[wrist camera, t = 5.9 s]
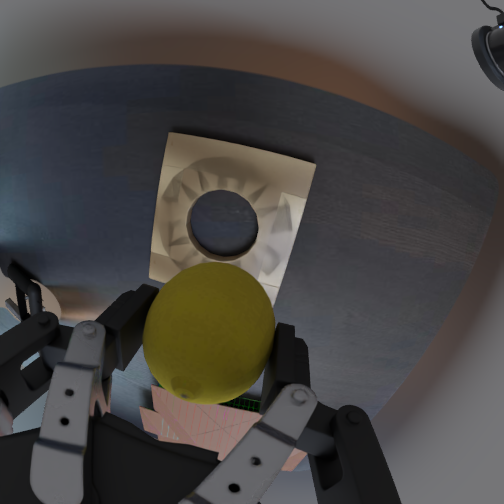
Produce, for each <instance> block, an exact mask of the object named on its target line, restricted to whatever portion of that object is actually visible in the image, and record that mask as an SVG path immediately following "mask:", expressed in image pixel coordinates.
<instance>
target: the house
mask: <svg viewBox="0 0 504 504" xmlns="http://www.w3.org/2000/svg"><path fill="white" fill-rule="evenodd" d="M160 386H161V385H160V384H158V386H155V385H153V384H151V388H152V397H153V405H154V410H151V409H148V408H146V407H145V408H144V407H142V406H139V407H140V412H141V417H142V421H143V426H144V430H146V431H149V432H152V433H154V434H157V435H158V439H159V441H165V442H173V443H182V444H190V445H194V446H197V447H201V448H204V449H208V450H212V451H216V452H219V455H218V460H220V461H222V460H223V459H224V458H225V457H226V456H227V455H228V454H229V452H230V451H231V450H232V449H233V448H234V447H235V446H236V444H237V443H238V442H239V441H240V440H241V438H242V437H243V436H244V435H245V434H246V433H247V431H248V430H249V429H250V428H251V426H252V425H253V424H254V423H255V422H258V421H259V420H260V418H261V417H262V416H263V415H259V413H257V412H252V411H247V410H242V409H237V408H234V406H233V407H229V406H224V405H220V404H205V405H203V404H196V403H191V402H188V401H184V400H182V399H180V398H178V397H176V396H174V395H173V394H171V393H170V392H168V391H167V390H166V389H164V387H162V386H161V387H160ZM238 398H241V397H238ZM235 399H236V398H235ZM243 399H246V398H243ZM247 400H251V399H247ZM252 401H254V403H255V401H256V400H252ZM258 402H261V401H258ZM226 403H228V402H226ZM229 403H230V401H229ZM234 403H235V402H234ZM239 403H240V402H239ZM244 403H245V402H244ZM249 403H250V401H249ZM231 404H233V403H231ZM234 405H237V404H234ZM240 406H243V405H240ZM244 407H246V406H244ZM244 407H243V409H244ZM238 408H239V407H238ZM250 408H253V409H257V408H254V407H250ZM248 409H249V407H248ZM258 409H259V406H258ZM306 454H307V453H306V452H304V451H301V450H299V449H296V448H294V449H293V451H292V453H291V454H290V456H289V458H288V459H287V461H286V462H285V464H284V466H283V467H282V469H281V470H284V471H292V470H293V469H294V468H295V467H296V466H297V465H298V464H299V462H300V461H301V460H302V459H303V458H304V457H305V456H306Z"/></svg>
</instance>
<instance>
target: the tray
mask: <svg viewBox="0 0 504 504" xmlns="http://www.w3.org/2000/svg"><path fill="white" fill-rule="evenodd" d="M315 168H316V164H314V163H310V162H307V161H303V160H300V159H296V158H293V157H289V156H285V155H281V154H277V153H273V152H269V151H265V150H261V149H257V148H253V147H248V146H244V145H239V144H235V143H230V142H225V141H220V140H215V139H209V138H204V137H198V136H192V135H186V134H179V133H173V132H169V135H168V140H167V145H166V150H165V155H164V160H163V165H162V171H161V177H160V183H159V189H158V196H157V203H156V210H155V218H154V226H153V235H152V245H151V257H150V270H149V278H151V279H154V280H157V281H160V282H163V283H167V282H168V281H169V280H171V279H172V278H173V277H174V276H176V275H177V274H178V273H179V272H181V271H182V270H184V269H186V268H189V267H192V266H194V265H197V264H199V263H207V262H222V263H229V264H232V265H234V266H237V267H240V268H242V269H243V270H245V271H246V272H248V273H249V274H251V275H252V276H253V277H254V278H255V279H256V280H257V281H258V282H259V283H260V284H261V285H262V286H263V288H264V290H265V291H266V293H267V295H268V297H269V299H270V301H271V304H272V309H273V307H274V304H275V301H276V298H277V295H278V291H279V288H280V285H281V282H282V279H283V276H284V273H285V270H286V267H287V264H288V260H289V257H290V254H291V251H292V247H293V244H294V241H295V238H296V234H297V231H298V228H299V224H300V221H301V218H302V214H303V211H304V207H305V204H306V200H307V197H308V193H309V190H310V186H311V183H312V179H313V176H314V172H315ZM220 189H223V190H228V191H232V192H236V193H238V194H239V195H241V196H242V197H243V198H245V199H246V200H247V201H249V203H250V204H251V206H252V208H253V209H254V211H255V212H256V214H257V220H258V226H259V231H258V234H257V238H256V240H255V242H254V243H253V244H252V245H251V247H250V248H249V249H248V250H246V251H244V252H243V253H241V254H239V255H237V256H228V257H222V256H219V255H215V254H211V253H210V252H208V251H207V250H206V249H204V248H203V247H201V246H200V244H199V243H198V241H197V240H196V238H195V237H194V235H193V233H192V228H191V224H190V219H191V213H192V208H193V207H194V205H195V204H196V202H197V200H198V199H199V197H201V196H202V195H204V194H205V193H207V192H208V191H214V190H220Z"/></svg>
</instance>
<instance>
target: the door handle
mask: <svg viewBox="0 0 504 504" xmlns="http://www.w3.org/2000/svg"><path fill="white" fill-rule="evenodd" d="M7 272H8V276H9V278H10V279H11V280H12V281H13V282H14V283H15V287H16V295H17V301H18V306H17V305H16V304H15V303H14V302H13V301H12V300H11V299H10V298H9V299H7V300H6V301H5V303H6V306H7V308H9V310H10V311H11V312H12V313H13V314H14V315H15V316H16V317H17V318H18V319H19V320H20V321H21V322H23V321H25V320H26V319H28V318H29V317H31V316H33V315H35V314H36V313H39V312H43V311H45V307H44V306H42V295H41V288H40V286H39V285H38V284H37V283H34V282H32V281H31V280H30V279H29V278H28V277H27V276H26V275H25V274H24V273H23V272H21V271H20V270H19V269H18V268H17V267H16V266H15V265H14V264H10V265H9V266H8V270H7ZM25 294H26V295H27V296H26V297H25ZM27 299H29V307H30V313H31V315H30V314H29V313H27V306H26V300H27ZM38 353H39V352H38Z"/></svg>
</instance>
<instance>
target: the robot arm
mask: <svg viewBox="0 0 504 504" xmlns="http://www.w3.org/2000/svg"><path fill="white" fill-rule="evenodd" d="M481 1H482V2H483V4H484V5H485V6H486V7H487V8H489V9H490V10H496V11H499V12H500V13H501V14H500V15H498V16H497V22H498V25H497V26H495V27H492V28H490V32H488V33H487V34H486V35H485V47H486V50H487V53H488V55H489V57H490V59H491V61H492V63H493V65H494V66H495V68H496V69H497V71H498V72H499V73H500V74H501V75H502V77H503V78H504V12H503V11H501V10H500V9H499V8H496V7H490V6H489V5H487V3H486V2H485V1H484V0H481ZM158 293H159V288H156V287H153V286H150V285H147V284H142V285H141V286H140V287H139V288H138V289H137V290H136V291H132V290H130V291H128V292H125V293H123V294H122V295H121V296H119V297H118V298H117V299H116V301H114V302H113V303H112V304H111V306H109V307H108V308H107V309H106V310H105V311H104V312H103V313H102V314H101V315H100V316H99V317H98V318H97V319H96V320H95V321H91V320H88V321H83V322H80V323H78V324H77V325H76V326H75V327H69V326H64V325H59V321H58V317H57V316H56V315H55V314H54V313H51V312H47V311H43V312H39V313H36V314H35V315H33V316H31V317H29V318H28V319H26V320H25V321H23V322H21V323H20V324H18V325H16V326H15V327H13V328H11V329H10V330H8V331H7V332H5V333H3V334H2V335H0V504H261V503H260V502H259V500H260V499H261V498H262V496H263V495H264V493H265V492H266V491H267V489H268V488H269V487H270V485H271V484H272V482H273V481H274V479H275V478H276V476H277V475H278V473H279V472H280V470H281V469H282V467H283V466H284V464H285V462H286V461H287V459H288V458H289V456H290V454H291V453H292V451H293V449H294V448H296V449H299V450H301V451H304V452H306V453H308V458H309V463H310V468H311V472H312V477H313V482H314V487H315V491H316V496H317V501H318V504H401V501H400V498H399V495H398V492H397V489H396V487H395V484H394V481H393V479H392V476H391V473H390V470H389V468H388V465H387V462H386V460H385V457H384V455H383V452H382V449H381V447H380V444H379V442H378V439H377V437H376V434H375V432H374V429H373V427H372V425H371V422H370V420H369V417H368V415H367V414H366V413H365V412H364V411H363V410H362V409H361V408H359V407H357V406H353V405H345V406H342V407H341V408H339V410H335V409H333V408H330V407H328V406H325V405H323V404H322V403H320V402H319V401H317V396H316V394H315V393H314V392H313V391H312V390H311V387H310V370H309V357H308V356H309V355H308V347H307V345H306V343H305V342H304V340H303V339H301V338H296V337H295V327H294V326H293V325H288V324H284V323H280V322H278V324H277V326H276V329H275V336H274V344H273V349H272V352H271V355H270V357H269V359H268V361H267V364H266V366H265V371H264V379H263V387H262V395H261V402H260V410H259V415H263V416H262V417H261V418H260V420H259V421H258V422H255V423H254V424H253V425H252V426H251V428H250V429H249V430H248V431H247V433H246V434H245V435H244V436H243V437H242V438H241V440H240V441H239V442H238V443H237V444H236V446H235V447H234V448H233V449H232V450H231V451H230V452H229V454H228V455H227V456H226V457H225V458H224V459H223V460H222V461H220V460H218V455H219V452H216V451H212V450H208V449H204V448H201V447H197V446H194V445H190V444H182V443H173V442H165V441H159V440H156V439H154V438H152V437H151V436H149V435H148V434H146V433H145V432H143V431H142V430H140V429H139V428H138V427H136V426H135V425H133V424H132V423H130V422H128V421H126V420H123V419H121V418H119V417H117V416H115V415H113V414H111V413H110V400H111V387H112V372H113V371H114V369H115V368H117V369H119V370H121V371H124V370H125V368H126V367H127V366H128V364H129V363H130V361H131V360H132V358H133V357H134V355H135V354H136V352H137V351H138V349H139V348H140V347H141V345H142V344H143V343H142V338H143V331H144V326H145V322H146V317H147V314H148V311H149V309H150V307H151V305H152V303H153V301H154V300H155V298H156V296H157V295H158ZM37 352H39V355H40V357H39V358H37V359H36V360H34V361H33V362H32V363H30V364H29V365H28V366H26V367H25V368H24V369H22V370H20V368H21V365H22V363H23V362H24V361H25V360H27V359H28V358H30V357H31V356H32V355H34V354H35V353H37ZM47 390H49V391H48V395H47V399H46V404H45V408H44V413H43V418H42V423H41V427H39V428H35V429H31V430H27V431H23V432H18V433H14V434H12V433H13V428H12V425H13V420H14V419H15V418H16V417H17V416H18V415H19V414H20V413H22V411H24V410H25V409H26V408H28V407H29V406H30V405H31V404H32V403H33V402H34V401H36V400H37V399H38V398H39V397H40V396H42V395H43V394H44V393H45V392H46V391H47Z"/></svg>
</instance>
